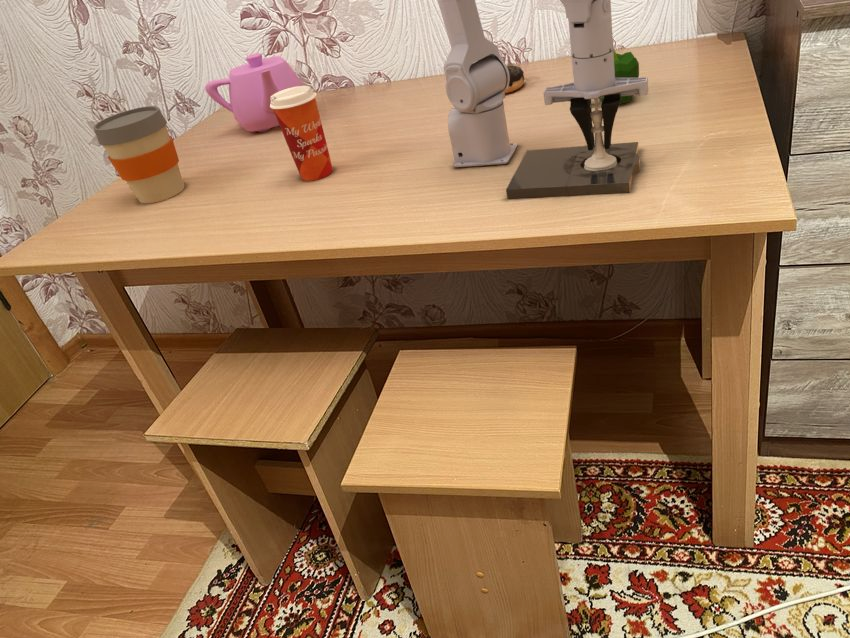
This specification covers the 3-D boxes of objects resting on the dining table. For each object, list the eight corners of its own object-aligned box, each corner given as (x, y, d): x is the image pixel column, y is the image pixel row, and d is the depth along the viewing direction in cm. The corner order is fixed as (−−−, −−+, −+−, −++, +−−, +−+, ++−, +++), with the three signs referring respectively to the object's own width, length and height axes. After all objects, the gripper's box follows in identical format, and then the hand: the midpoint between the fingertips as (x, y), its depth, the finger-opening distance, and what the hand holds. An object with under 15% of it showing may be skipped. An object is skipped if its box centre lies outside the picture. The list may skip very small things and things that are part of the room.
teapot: (220, 129, 166) (194, 64, 158) (304, 103, 171) (284, 39, 162) (231, 154, 148) (203, 82, 140) (325, 125, 153) (303, 53, 144)
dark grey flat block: (507, 198, 104) (505, 189, 103) (527, 158, 115) (526, 150, 115) (634, 192, 98) (634, 182, 97) (643, 150, 109) (643, 141, 108)
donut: (526, 91, 145) (524, 72, 143) (471, 102, 146) (467, 83, 144) (524, 77, 154) (521, 58, 152) (471, 87, 155) (468, 69, 153)
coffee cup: (302, 187, 124) (273, 104, 116) (290, 175, 131) (262, 95, 122) (345, 172, 127) (320, 88, 118) (331, 161, 133) (307, 81, 124)
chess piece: (616, 170, 103) (612, 103, 97) (583, 173, 104) (577, 107, 98) (617, 157, 107) (614, 91, 101) (585, 160, 108) (579, 95, 102)
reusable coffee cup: (155, 210, 129) (117, 131, 120) (116, 204, 136) (78, 129, 127) (206, 181, 137) (174, 105, 128) (167, 177, 144) (134, 105, 135)
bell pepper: (647, 93, 131) (645, 37, 125) (630, 108, 125) (627, 51, 120) (605, 93, 135) (601, 39, 129) (587, 108, 130) (582, 52, 124)
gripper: (535, 67, 95) (546, 161, 103) (643, 54, 91) (647, 154, 98) (544, 52, 101) (555, 142, 108) (648, 39, 96) (650, 135, 104)
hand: (599, 147), depth 104 cm, fingers closed on chess piece
